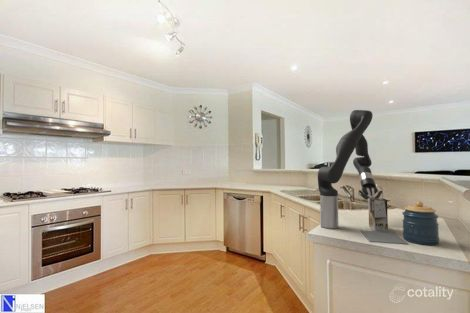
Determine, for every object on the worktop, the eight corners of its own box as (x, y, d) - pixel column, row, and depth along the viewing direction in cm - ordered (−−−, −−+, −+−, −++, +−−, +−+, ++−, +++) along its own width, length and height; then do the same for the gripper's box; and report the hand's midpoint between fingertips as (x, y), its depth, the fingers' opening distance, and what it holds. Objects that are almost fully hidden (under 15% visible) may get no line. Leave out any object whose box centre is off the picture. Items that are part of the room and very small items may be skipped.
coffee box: (388, 232, 121) (387, 200, 121) (374, 231, 122) (373, 200, 123) (381, 227, 130) (380, 197, 130) (368, 226, 131) (367, 197, 131)
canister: (428, 247, 99) (427, 204, 99) (396, 238, 111) (395, 200, 111) (446, 243, 104) (444, 202, 105) (413, 235, 116) (412, 198, 117)
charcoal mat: (369, 241, 107) (369, 240, 107) (360, 231, 123) (360, 230, 123) (408, 244, 103) (408, 243, 103) (393, 233, 119) (393, 232, 119)
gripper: (356, 177, 145) (361, 200, 133) (380, 177, 142) (388, 201, 129) (354, 185, 150) (359, 208, 138) (378, 185, 147) (385, 209, 134)
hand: (373, 205), depth 134 cm, fingers closed
